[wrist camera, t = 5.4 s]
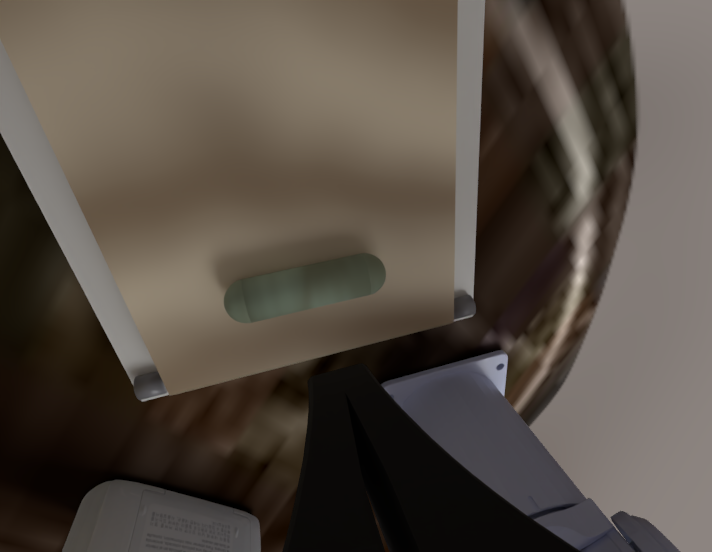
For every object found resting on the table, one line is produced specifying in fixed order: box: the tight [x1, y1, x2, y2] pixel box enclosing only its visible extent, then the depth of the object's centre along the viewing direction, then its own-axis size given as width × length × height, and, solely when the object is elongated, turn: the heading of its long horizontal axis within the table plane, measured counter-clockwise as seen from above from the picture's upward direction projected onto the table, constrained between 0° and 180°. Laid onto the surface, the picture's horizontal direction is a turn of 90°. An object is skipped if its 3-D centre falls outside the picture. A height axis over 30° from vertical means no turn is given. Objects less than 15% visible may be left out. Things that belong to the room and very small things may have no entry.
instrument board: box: [0, 0, 458, 396], centre depth 13 cm, size 14×13×3 cm
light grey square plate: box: [0, 0, 485, 401], centre depth 15 cm, size 16×16×2 cm
